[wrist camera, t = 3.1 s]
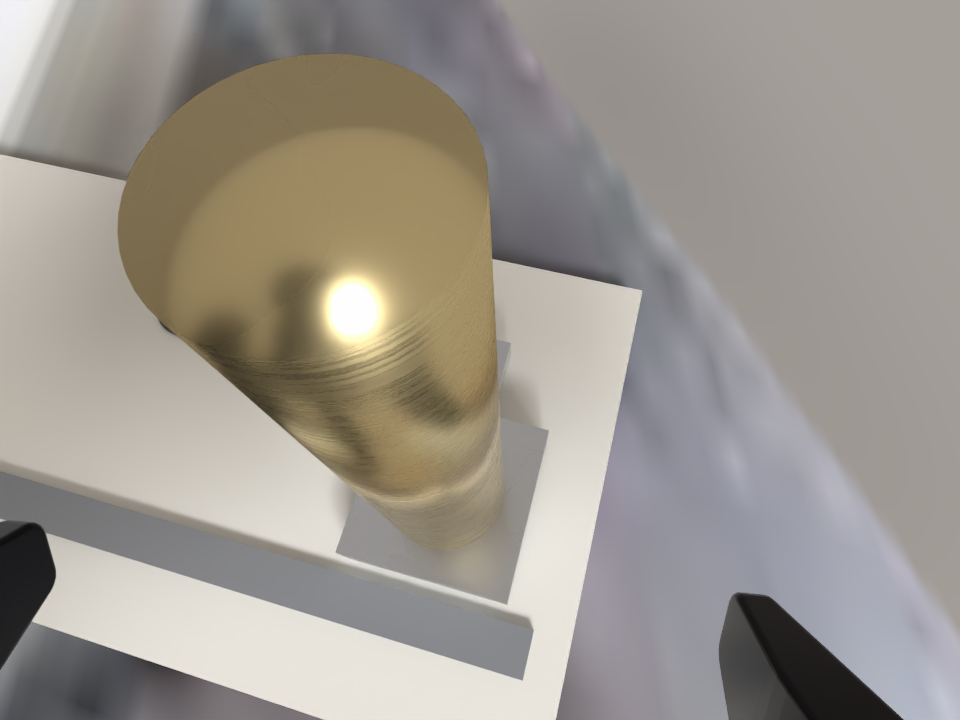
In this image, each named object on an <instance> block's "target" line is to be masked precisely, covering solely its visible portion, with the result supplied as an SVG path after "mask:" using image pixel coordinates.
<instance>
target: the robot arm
mask: <svg viewBox="0 0 960 720" xmlns="http://www.w3.org/2000/svg"><path fill="white" fill-rule="evenodd" d="M55 580H56V567H55V564H54V560H53V557H52V553H51V550H50V546H49V543H48V539H47V535H46V532H45V530H44V528H43V527H42V526H41V525H40V524H38V523H36V522H29V521H19V520H6V521H2V522H0V669H1V668H2V666H3V665H4V663H5V662H6V660H7V659H8V657H9V656H10V654H11V652H12V651H13V649H14V648H15V646H16V645H17V643H18V642H19V640H20V638H21V637H22V635H23V634H24V632H25V631H26V629H27V628H28V626H29V625H30V623H31V621H32V620H33V618H34V617H35V615H36V614H37V612H38V611H39V609H40V607H41V606H42V604H43V603H44V601H45V600H46V598H47V597H48V595H49V594H50V592H51V590H52V588H53V586H54V583H55ZM719 662H720V669H721V675H722V681H723V687H724V693H725V699H726V705H727V711H728V717H729V720H903V719H902V718H901V717H900V716H899V715H898V714H897V713H896V712H895V711H894V710H893V709H892V708H890V707H889V706H888V705H887V704H886V703H885V702H884V701H883V700H882V699H881V698H880V697H879V696H877V695H876V694H875V693H874V692H873V691H872V690H871V689H870V688H869V687H868V686H867V685H865V684H864V683H863V682H862V681H861V680H860V679H859V678H858V677H857V676H856V675H855V674H854V673H852V672H851V671H850V670H849V669H848V668H847V667H846V666H845V665H844V664H843V663H842V662H841V661H839V660H838V659H837V658H836V657H835V656H834V655H833V654H832V653H831V652H830V651H829V650H828V649H826V648H825V647H824V646H823V645H822V644H821V643H820V642H819V641H818V640H817V639H816V638H814V637H813V636H812V635H811V634H810V633H809V632H808V631H807V630H806V629H805V628H804V627H803V626H801V625H800V624H799V623H798V622H797V621H796V620H795V619H794V618H793V617H792V616H791V615H790V614H788V613H787V612H786V611H785V610H784V609H783V608H782V607H781V606H780V605H779V604H778V603H777V602H775V601H774V600H773V599H772V598H770V597H769V596H766V595H760V594H750V593H740V592H739V593H735V594H734V595H733V596H732V597H731V599H730V601H729V605H728V609H727V613H726V617H725V621H724V625H723V630H722V634H721V638H720V643H719Z"/></svg>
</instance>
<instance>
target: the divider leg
mask: <svg viewBox="0 0 960 720" xmlns="http://www.w3.org/2000/svg"><path fill="white" fill-rule="evenodd" d="M117 235H118V244H119V252H120V256H121V259H122V263H123V266H124V270H125V273H126V275H127V277H128V279H129V281H130V283H131V285H132V287H133V289H134V291H135V292H136V294H137V295H138V296H139V298H140V299H141V300H142V302H143V303H144V305H145V306H146V307H147V308H148V309H149V310H150V311H151V312H152V313H153V314H154V315H155V316H156V317H157V318H158V319H159V320H160V321H161V322H162V323H163V324H164V325H165V326H167V327H168V328H169V329H170V330H171V331H172V332H173V333H175V334H176V335H177V336H178V337H179V338H180V339H181V340H182V341H184V342H185V343H186V344H187V345H188V346H189V347H190V348H192V349H193V350H194V351H195V352H196V353H197V354H198V355H200V356H201V357H202V358H203V359H204V360H205V361H206V362H208V363H209V364H210V365H211V366H212V367H213V368H214V369H216V370H217V371H218V372H219V373H220V374H221V375H222V376H224V377H225V378H226V379H227V380H228V381H229V382H230V383H232V384H233V385H234V386H235V387H236V388H237V389H238V390H240V391H241V392H242V393H243V394H244V395H245V396H246V397H248V398H249V399H250V400H251V401H252V402H253V403H254V404H256V405H257V406H258V407H259V408H260V409H261V410H262V411H264V412H265V413H266V414H267V415H268V416H269V417H270V418H272V419H273V420H274V421H275V422H276V423H277V424H278V425H280V426H281V427H282V428H283V429H284V430H285V431H286V432H288V433H289V434H290V435H291V436H292V437H293V438H294V439H296V440H297V441H298V442H299V443H300V444H301V445H302V446H304V447H305V448H306V449H307V450H308V451H309V452H310V453H312V454H313V455H314V456H315V457H316V458H317V459H318V460H320V461H321V462H322V463H323V464H324V465H325V466H326V467H328V468H329V469H330V470H331V471H332V472H333V473H334V474H336V475H337V476H338V477H339V478H340V479H341V480H342V481H344V482H345V483H346V484H347V485H348V486H349V487H350V488H352V489H353V490H354V491H355V492H356V494H355V497H354V500H353V503H352V506H351V509H350V512H349V514H348V517H347V520H346V523H345V526H344V529H343V532H342V534H341V537H340V540H339V543H338V546H337V549H336V552H335V553H338V554H340V555H342V556H345V557H347V558H349V559H353V560H356V561H359V562H363V563H366V564H370V565H373V566H376V567H380V568H383V569H387V570H390V571H393V572H397V573H400V574H404V575H407V576H410V577H414V578H417V579H421V580H424V581H428V582H431V583H434V584H438V585H441V586H445V587H448V588H451V589H455V590H458V591H462V592H465V593H468V594H472V595H475V596H479V597H482V598H485V599H489V600H492V601H496V602H499V603H502V604H506V605H508V601H509V597H510V593H511V589H512V585H513V581H514V576H515V572H516V568H517V564H518V560H519V556H520V552H521V548H522V543H523V539H524V535H525V531H526V527H527V523H528V519H529V515H530V510H531V506H532V502H533V498H534V494H535V490H536V486H537V482H538V477H539V473H540V469H541V465H542V461H543V457H544V453H545V449H546V444H547V439H548V434H549V430H546V429H542V428H538V427H534V426H530V425H526V424H522V423H518V422H514V421H510V420H506V419H502V418H500V399H499V395H500V392H501V388H502V385H503V381H504V378H505V374H506V370H507V367H508V363H509V360H510V356H511V343H509V342H505V341H500V340H496V322H495V302H494V283H493V264H492V244H491V225H490V205H489V186H488V173H487V164H486V160H485V156H484V151H483V147H482V145H481V142H480V140H479V138H478V135H477V133H476V131H475V129H474V127H473V126H472V124H471V122H470V121H469V119H468V118H467V116H466V114H465V113H464V112H463V111H462V110H461V108H460V107H459V106H458V105H457V104H456V103H455V102H454V100H453V99H452V98H450V97H449V96H448V95H447V94H446V93H445V92H444V91H442V90H441V89H440V88H439V87H438V86H436V85H435V84H433V83H432V82H430V81H428V80H427V79H425V78H424V77H422V76H420V75H418V74H416V73H414V72H412V71H410V70H408V69H406V68H404V67H401V66H398V65H395V64H392V63H389V62H386V61H383V60H378V59H374V58H369V57H365V56H357V55H348V54H312V55H300V56H295V57H289V58H283V59H278V60H275V61H271V62H267V63H264V64H260V65H257V66H254V67H251V68H249V69H246V70H243V71H241V72H238V73H236V74H234V75H232V76H230V77H228V78H226V79H223V80H221V81H219V82H217V83H216V84H214V85H212V86H211V87H209V88H207V89H206V90H204V91H202V92H201V93H199V94H198V95H196V96H195V97H194V98H192V99H191V100H190V101H188V102H187V103H186V104H184V105H183V106H182V107H180V108H179V109H178V110H177V111H176V112H175V113H174V114H173V115H172V116H171V117H170V118H169V119H168V120H166V121H165V122H164V124H163V125H162V126H161V127H160V128H159V129H158V130H157V132H156V133H155V134H154V135H153V136H152V137H151V139H150V140H149V141H148V143H147V144H146V146H145V147H144V149H143V150H142V152H141V153H140V155H139V156H138V158H137V160H136V162H135V164H134V166H133V168H132V170H131V172H130V174H129V176H128V179H127V182H126V184H125V187H124V190H123V193H122V197H121V202H120V207H119V212H118V229H117Z"/></svg>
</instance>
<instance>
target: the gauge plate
mask: <svg viewBox="0 0 960 720" xmlns="http://www.w3.org/2000/svg"><path fill="white" fill-rule="evenodd" d="M126 182H127V181H123V180H119V179H114V178H109V177H105V176H100V175H95V174H90V173H86V172H81V171H76V170H72V169H67V168H62V167H57V166H53V165H48V164H43V163H39V162H34V161H29V160H25V159H20V158H15V157H10V156H6V155H1V154H0V522H2V521H6V520H19V521H29V522H36V523H38V524H40V525H41V526H42V527H43V528H44V530H45V532H46V535H47V539H48V543H49V546H50V550H51V553H52V557H53V560H54V564H55V567H56V580H55V583H54V586H53V588H52V590H51V592H50V594H49V595H48V597H47V598H46V600H45V601H44V603H43V604H42V606H41V607H40V609H39V611H38V612H37V614H36V615H35V617H34V618H33V620H32V622H35V623H38V624H41V625H44V626H47V627H50V628H53V629H56V630H59V631H62V632H65V633H68V634H71V635H74V636H77V637H80V638H83V639H86V640H89V641H92V642H95V643H98V644H100V645H103V646H106V647H109V648H112V649H115V650H118V651H121V652H124V653H127V654H130V655H133V656H136V657H139V658H142V659H145V660H148V661H151V662H154V663H157V664H160V665H163V666H166V667H169V668H172V669H175V670H178V671H181V672H184V673H187V674H190V675H193V676H196V677H199V678H202V679H205V680H208V681H211V682H214V683H217V684H220V685H223V686H226V687H229V688H232V689H235V690H238V691H241V692H244V693H247V694H250V695H253V696H256V697H259V698H262V699H265V700H268V701H271V702H274V703H277V704H280V705H282V706H285V707H288V708H291V709H294V710H297V711H300V712H303V713H306V714H309V715H312V716H315V717H318V718H321V719H324V720H556V715H557V711H558V706H559V701H560V696H561V691H562V686H563V681H564V676H565V671H566V666H567V661H568V656H569V651H570V646H571V641H572V636H573V631H574V627H575V622H576V617H577V612H578V607H579V602H580V597H581V592H582V587H583V582H584V577H585V572H586V567H587V562H588V557H589V552H590V547H591V543H592V538H593V533H594V528H595V523H596V518H597V513H598V508H599V503H600V498H601V493H602V488H603V483H604V478H605V473H606V468H607V463H608V459H609V454H610V449H611V444H612V439H613V434H614V429H615V424H616V419H617V414H618V409H619V404H620V399H621V394H622V389H623V384H624V379H625V375H626V370H627V365H628V360H629V355H630V350H631V345H632V340H633V335H634V330H635V325H636V320H637V315H638V310H639V305H640V300H641V295H642V291H641V290H636V289H632V288H627V287H622V286H618V285H613V284H608V283H604V282H599V281H594V280H589V279H585V278H580V277H575V276H571V275H566V274H561V273H556V272H552V271H547V270H542V269H538V268H533V267H528V266H523V265H519V264H514V263H509V262H505V261H500V260H495V259H492V264H493V283H494V302H495V322H496V340H500V341H505V342H509V343H511V356H510V360H509V363H508V367H507V370H506V374H505V378H504V381H503V385H502V388H501V392H500V395H499V399H500V418H502V419H506V420H510V421H514V422H518V423H522V424H526V425H530V426H534V427H538V428H542V429H546V430H549V434H548V439H547V444H546V449H545V453H544V457H543V461H542V465H541V469H540V473H539V477H538V482H537V486H536V490H535V494H534V498H533V502H532V506H531V510H530V515H529V519H528V523H527V527H526V531H525V535H524V539H523V543H522V548H521V552H520V556H519V560H518V564H517V568H516V572H515V576H514V581H513V585H512V589H511V593H510V597H509V601H508V605H506V604H502V603H499V602H496V601H492V600H489V599H485V598H482V597H479V596H475V595H472V594H468V593H465V592H462V591H458V590H455V589H451V588H448V587H445V586H441V585H438V584H434V583H431V582H428V581H424V580H421V579H417V578H414V577H410V576H407V575H404V574H400V573H397V572H393V571H390V570H387V569H383V568H380V567H376V566H373V565H370V564H366V563H363V562H359V561H356V560H353V559H349V558H347V557H345V556H342V555H340V554H338V553H335V552H336V549H337V546H338V543H339V540H340V537H341V534H342V532H343V529H344V526H345V523H346V520H347V517H348V514H349V512H350V509H351V506H352V503H353V500H354V497H355V494H356V492H355V491H354V490H353V489H352V488H350V487H349V486H348V485H347V484H346V483H345V482H344V481H342V480H341V479H340V478H339V477H338V476H337V475H336V474H334V473H333V472H332V471H331V470H330V469H329V468H328V467H326V466H325V465H324V464H323V463H322V462H321V461H320V460H318V459H317V458H316V457H315V456H314V455H313V454H312V453H310V452H309V451H308V450H307V449H306V448H305V447H304V446H302V445H301V444H300V443H299V442H298V441H297V440H296V439H294V438H293V437H292V436H291V435H290V434H289V433H288V432H286V431H285V430H284V429H283V428H282V427H281V426H280V425H278V424H277V423H276V422H275V421H274V420H273V419H272V418H270V417H269V416H268V415H267V414H266V413H265V412H264V411H262V410H261V409H260V408H259V407H258V406H257V405H256V404H254V403H253V402H252V401H251V400H250V399H249V398H248V397H246V396H245V395H244V394H243V393H242V392H241V391H240V390H238V389H237V388H236V387H235V386H234V385H233V384H232V383H230V382H229V381H228V380H227V379H226V378H225V377H224V376H222V375H221V374H220V373H219V372H218V371H217V370H216V369H214V368H213V367H212V366H211V365H210V364H209V363H208V362H206V361H205V360H204V359H203V358H202V357H201V356H200V355H198V354H197V353H196V352H195V351H194V350H193V349H192V348H190V347H189V346H188V345H187V344H186V343H185V342H184V341H182V340H181V339H180V338H179V337H178V336H177V335H176V334H175V333H173V332H172V331H171V330H170V329H169V328H168V327H167V326H165V325H164V324H163V323H162V322H161V321H160V320H159V319H158V318H157V317H156V316H155V315H154V314H153V313H152V312H151V311H150V310H149V309H148V308H147V307H146V306H145V305H144V303H143V302H142V300H141V299H140V298H139V296H138V295H137V294H136V292H135V291H134V289H133V287H132V285H131V283H130V281H129V279H128V277H127V275H126V273H125V270H124V266H123V263H122V259H121V256H120V252H119V244H118V235H117V229H118V212H119V207H120V202H121V197H122V193H123V190H124V187H125V184H126Z"/></svg>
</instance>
